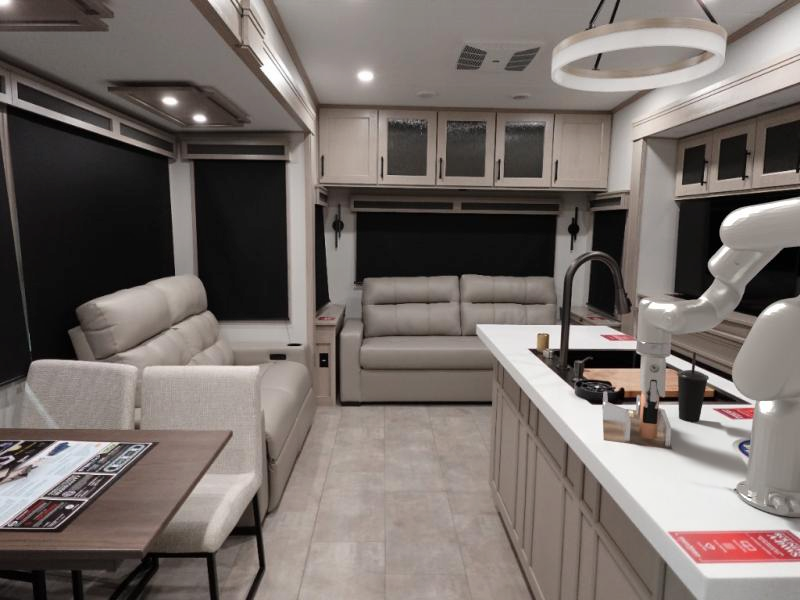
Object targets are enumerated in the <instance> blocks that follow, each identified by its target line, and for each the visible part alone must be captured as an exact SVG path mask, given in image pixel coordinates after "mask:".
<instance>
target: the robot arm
mask: <svg viewBox="0 0 800 600" xmlns="http://www.w3.org/2000/svg"><path fill="white" fill-rule="evenodd" d="M719 227H720V228H719V237H720V240H721V242H722V244H723V245H722V246H721V247H720V248H719V249H718V250H717V251H716V252H715V254H713V255H712V256H711V258H709V260H708V262H707V268H708V271H709V272H710V274H711V275H712V276H713V278H714V280H713V282H712V284H711V285H710V286H709V288H708V289H706V291H704V293H703V294H702V295H700V297H698V298H697V299H689V300H688V299H687V300H680V301H678V300H677V301H672V299H669V298H666V297H654V296H653V297H652V296H651V297H643V298H642V299H640V301H639V304H638V315H637V316H638V318H637V332H636V333H637V334H636V347H635V348H636V350H635V352H636V354H637V355H640V367H639V368H640V372H639V373H640V375H639V376H640V377H639V378H640V381H639V383H640V388H641V389H640V390H641V393H643V394H644V395H645V407H644V406H643V423H650V424H657V417H658V392H659V397H661V398H665V397H666V383H667V381H666V380H667V379H666V378H667V361H666V360H667V358H668V357H671V349H672V348H671V347H672V335H685V334H692V333H700V332H701V333H702V332H708V331H710V330H712V329H714V328H715V327H717V326H718V325H720V324H721V323H722V322H723V321H724V320H726V318H727V317H728V316H729V315H730V314H731V313H732V312H733V311H734V310H735V309H736V308H737V307H738V306H739V304H740V302H741V301H742V298H743V295H744V293H745V290H746V286H747V285H748V284H749V283H750V281H751V280H753V278H754V277H756V276H757V274H758V273H759V272H760V271H762V270H763V268H765V266H767V264H768V263H770V262H771V260H773V259H774V258H775V257H776V256H777V255H778V254H779V253H780V251H782V250H783V249H784V248H793V247H795V248H796V247H800V196H797V197H791V198H787V199H786V198H785V199H781V200H775V201H770V202H764V203H758V204H753V205H748V206H747V205H746V206H743V207H739V208H737V209H735V210H733V211H731V212H730V213H729V214H728V215H726V217H725V218H724V219H723V221H722V222H721V225H720V226H719ZM731 369H732V370H731V377H732V382H733V385H734V387H735V388H736V390H737V391H738V392H739V393H740V394H741V395H742V396H744V397H745V398H747V399H748V400H749V399H750V400H751V401H755V405H754V409H753V416H752V425H751V434H750V441H749V442H750V443H749V444H750V445H749V451H748V462H747V471H746V479H745V480H742V481H740V482H738V483H737V484H736V489H735V490H736V491H735V492H736V494H737V496H738V497H739V498H740V499H741V500H743V502H745V503H746V504H748V505H750V506H751V507H754V508H756V509H759V510H761V511H763V512H766V513H769V514H773V515H778V516H782V517H790V518H800V294H799V295H798V296H796V297H791V298H785V299H779V300H777V301H775V302H773V303H771V304H770V305H768V306H767V307H766V308H765V309H763V310H762V311H761V313H760V314H759V315H758V317H757V319H756V320H755V321H754V323H753V325H752V327H751V329H750V331H749V333H748V334H747V336H746V338H745V340H744V342H743V344H742V346H741V347H740V350H739V351H738V353H737V355H736V357H735V359H734V362H733V365H732V368H731ZM647 392H648V393H650V395H647ZM648 398H650V399H648Z"/></svg>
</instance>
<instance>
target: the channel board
mask: <svg viewBox="0 0 800 600" xmlns="http://www.w3.org/2000/svg"><path fill="white" fill-rule="evenodd" d="M601 407H602V408H601V410H603V405H602V406H601ZM625 409H626V410H629V416H630V421H631V427H630V441H629V442H626V441H625V437H624V430H623V428H621V427H619V426H617V425H615V424H612V423H610V422H608V421H606V420H603V419H602V426H603V427H602V429H603V431H602V432H603V441H607V442H614V443H620V444H621V443H622V444H628V445H637V446H644V447H650V448H651V447H652V448H657V449H666V450H673V446H672V444H671V442H670V448H669V447H665V445H664V442H663V438H662V435H661V432H660V429H659V428H658V427H657V438H655V439H648V438H644V437H641V436H640V435H639V427H640V420H639V419H637V415H636V409H627V408H625Z"/></svg>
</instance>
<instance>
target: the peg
mask: <svg viewBox="0 0 800 600" xmlns="http://www.w3.org/2000/svg"><path fill="white" fill-rule="evenodd" d="M640 395H641V410H640V427H639V435H640V436H641V437H644V438H648V439H655V438H657V425H658V417H657V424H650V423H643V406H644V407H645V395H644V394H643V393H642V392H641V394H640ZM647 395H650V393H648V392H647ZM648 399H650V398H648ZM659 405H660V395H659V392H658V409H659V408H660V407H659Z"/></svg>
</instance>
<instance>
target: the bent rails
mask: <svg viewBox="0 0 800 600" xmlns="http://www.w3.org/2000/svg"><path fill="white" fill-rule="evenodd" d="M602 395H603V397H602V406H603V409H602V421H603V420H606V421H608V422H610V423H612V424H615V425H617V426H619V427H621V428H623V430H624V437H625V441H626V442H629V441H630V427H631V421H630V416H629V410H630V409H629V410H626V409H627V408H624V407H622V406H618V405H616V404H614V403H611V402H609V401H608V400H609V399H608V398H609V397H608V391H606V390H605V391H603V394H602ZM635 404H636V405H635V410H636V415H637V419H639V420H640V410H641V394H636V402H635ZM657 427H658V428H659V429H660V432H661V435H662V438H663V442H664V445H665V447H669V448H670V443H671V439H672V438H671V436H672V426H671V423H670V420H669V417H668V414H667V412H666V410H665V409H663V408H660V407H659V409H658V425H657Z"/></svg>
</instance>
